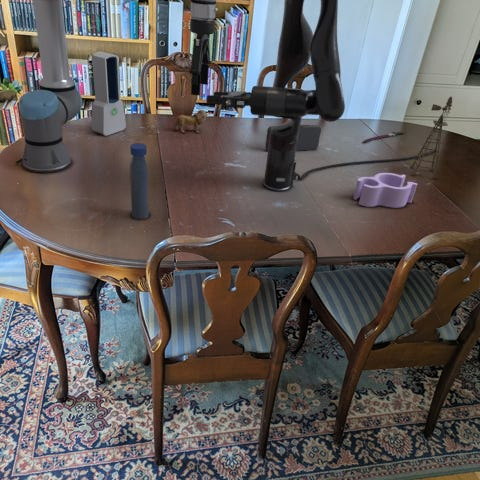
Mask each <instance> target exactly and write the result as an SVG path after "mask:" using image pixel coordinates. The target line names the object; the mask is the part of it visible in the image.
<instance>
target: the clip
mask: <svg viewBox="0 0 480 480" xmlns="http://www.w3.org/2000/svg"><path fill="white" fill-rule="evenodd" d="M406 177H407V175H406V174H397V173H393V172H378V173H376V174H375V175H374V176H361V177H358V178H357V181H356V185H355V189H354V192H353V197H352V199H353V200H355V201H357V200H358V199H359V202H358V205H360V206H363V207H367V208H372V207H376V206H383V207H386V208H387V207H388V208H395V209H398V208H403V207H405V206H406V205H407V203H409V204H412V202H413V200H414V196H415V193H416V190H417V187H418V183H417V182H412V181H407V183H406V185H405V186H404V183H405V181H406Z"/></svg>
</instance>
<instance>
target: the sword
mask: <svg viewBox="0 0 480 480" xmlns="http://www.w3.org/2000/svg"><path fill="white" fill-rule="evenodd" d="M401 132H402V131H396V132H394V131H392V132H391V133H387V134H383V135H377V136H374V137H369V138H367V139H365V140H363V144H365V143H367V142H370V141H373V140H377V139H382V138H387V137H393V136H397V135H401V134H402V133H401ZM406 133H407V131H406V132H405V133H404V134H406Z"/></svg>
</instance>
